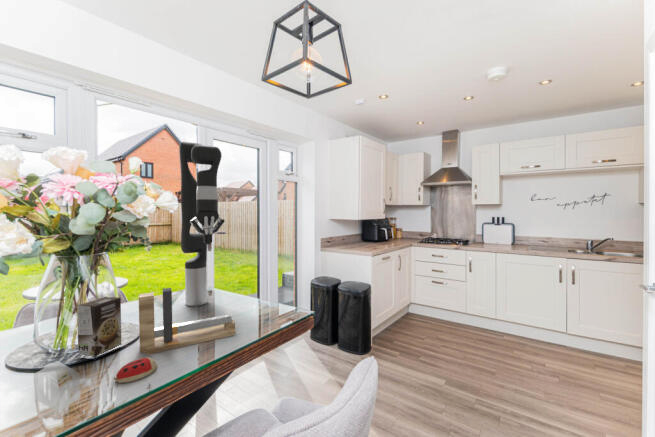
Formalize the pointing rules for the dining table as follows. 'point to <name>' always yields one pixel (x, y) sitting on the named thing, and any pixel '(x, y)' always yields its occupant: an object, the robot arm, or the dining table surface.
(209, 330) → the wooden track with post
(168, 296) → the dark gray slab
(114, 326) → the coffee box
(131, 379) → the ladybug figurine
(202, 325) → the silver metal bar
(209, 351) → the dining table surface
